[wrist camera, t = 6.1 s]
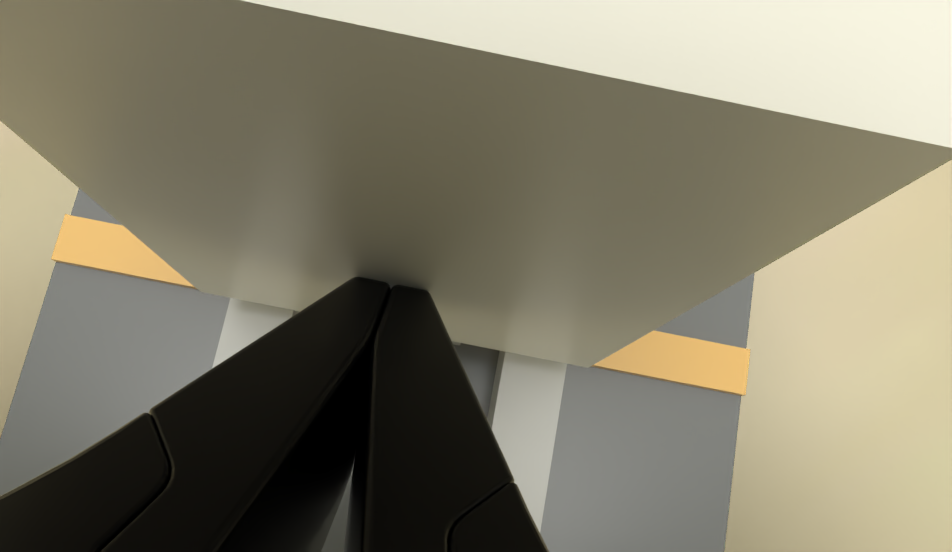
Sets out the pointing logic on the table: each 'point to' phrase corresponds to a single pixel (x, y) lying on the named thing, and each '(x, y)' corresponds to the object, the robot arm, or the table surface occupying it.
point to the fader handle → (483, 143)
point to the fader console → (490, 371)
